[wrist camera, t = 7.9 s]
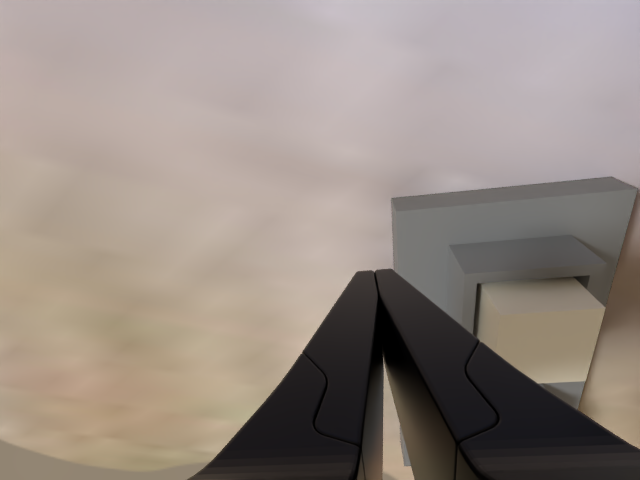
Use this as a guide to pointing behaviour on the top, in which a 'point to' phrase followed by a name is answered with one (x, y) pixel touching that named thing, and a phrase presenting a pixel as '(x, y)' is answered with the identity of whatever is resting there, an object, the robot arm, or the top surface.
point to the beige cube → (540, 326)
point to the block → (511, 244)
